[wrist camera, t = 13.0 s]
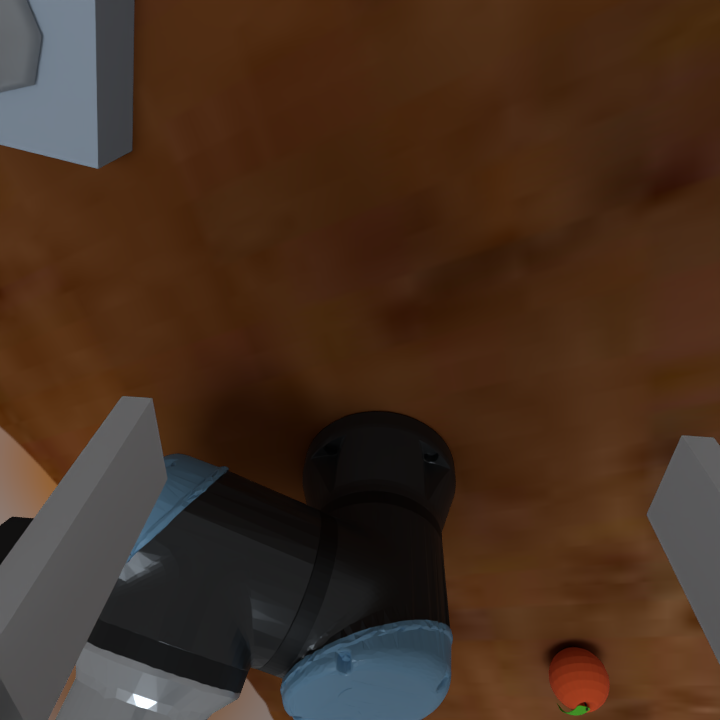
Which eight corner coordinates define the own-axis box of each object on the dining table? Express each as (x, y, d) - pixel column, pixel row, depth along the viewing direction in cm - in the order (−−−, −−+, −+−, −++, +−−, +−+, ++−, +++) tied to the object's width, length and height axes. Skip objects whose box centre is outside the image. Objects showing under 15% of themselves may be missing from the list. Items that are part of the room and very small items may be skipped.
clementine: (571, 676, 74) (585, 735, 68) (527, 660, 73) (538, 718, 67) (611, 646, 70) (631, 706, 64) (566, 628, 69) (581, 688, 63)
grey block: (134, 149, 42) (98, 168, 37) (-43, 105, 41) (-105, 118, 36) (137, -60, 35) (93, -72, 30) (-74, -119, 34) (-156, -141, 29)
